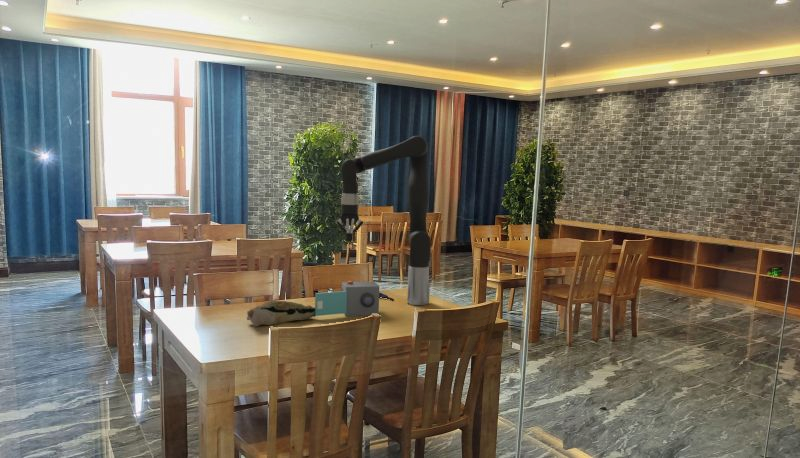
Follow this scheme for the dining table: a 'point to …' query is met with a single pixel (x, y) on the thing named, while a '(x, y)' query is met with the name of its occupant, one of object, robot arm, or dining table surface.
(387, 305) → the dining table surface
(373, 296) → the camera box
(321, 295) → the door
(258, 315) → the mineral
